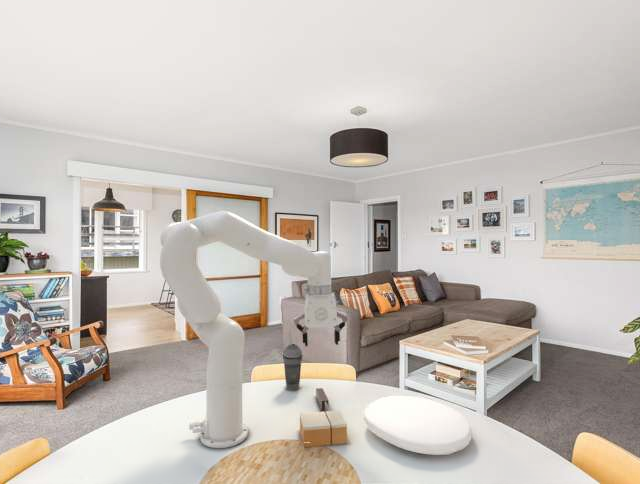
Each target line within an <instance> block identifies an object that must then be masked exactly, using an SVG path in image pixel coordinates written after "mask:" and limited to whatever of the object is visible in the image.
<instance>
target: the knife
mask: <svg viewBox="0 0 640 484" xmlns="http://www.w3.org/2000/svg"><path fill="white" fill-rule="evenodd" d="M315 397H316V400H317V403H318V405H319V407H320V410H321V412H325V413H326V411H331V409H330V407H329V406H330V405H329V399H328V396H327V394H326V392H325V390H324V389H323V387H319V388H317V387H316V388H315Z"/></svg>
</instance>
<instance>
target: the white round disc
mask: <svg viewBox="0 0 640 484" xmlns="http://www.w3.org/2000/svg"><path fill="white" fill-rule="evenodd" d="M363 420H364V423H365V425H366V427H367V428H368V430H369V431H370V432H371V433H373V434H374V435H375V436H377V437H379V438H380V439H382V440H383V441H385V442H387V443H389V444H391V445H393V446H395V447H397V448H399V449H403V450H405V451H409V452H413V453H417V454H423V455H431V456H432V455H433V456H442V455H444V456H446V455H451V454H454V453H456V452H459V451H461V450H463V449H465V448H466V447H467V446H469V444H470V442H471V440H472V435H473V434H472V433H473V432H472V431H473V430H472V428H471V425H470V422H469V421H468V420H467V418H466V416H464V414H462V413H461V412H460V411H457V410H455V409H454V408H452V407H450V406H448V405H446V404H444V403H441V402H438V401H434V400H431V399H427V398H423V397H417V396H412V395H411V396H410V395H390V396H384V397H380V398H378V399H375V400H374V401H372V402H370V404H368V405H367V406H366V407H365V409H364V410H363Z"/></svg>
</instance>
